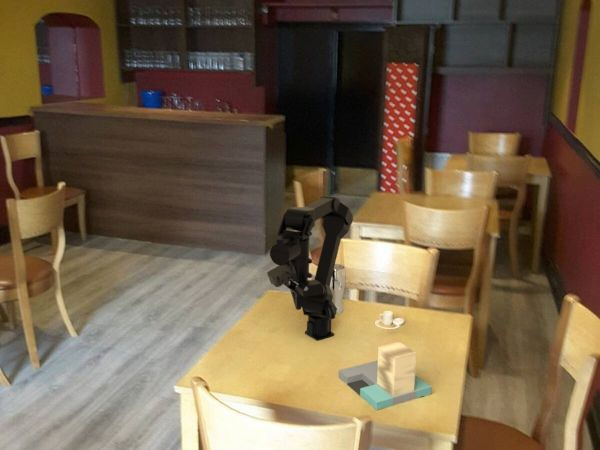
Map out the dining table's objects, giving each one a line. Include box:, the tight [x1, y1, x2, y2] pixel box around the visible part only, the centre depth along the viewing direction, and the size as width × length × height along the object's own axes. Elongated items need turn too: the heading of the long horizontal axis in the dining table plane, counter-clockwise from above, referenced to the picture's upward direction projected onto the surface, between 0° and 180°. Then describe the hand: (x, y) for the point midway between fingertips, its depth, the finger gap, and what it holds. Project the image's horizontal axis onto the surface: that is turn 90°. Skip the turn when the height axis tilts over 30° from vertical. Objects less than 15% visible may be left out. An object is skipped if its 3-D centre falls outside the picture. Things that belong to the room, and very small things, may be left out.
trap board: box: [338, 359, 417, 406], centre depth 157 cm, size 18×16×2 cm
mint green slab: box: [359, 374, 433, 411], centre depth 152 cm, size 7×16×2 cm, turn 117°
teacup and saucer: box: [374, 310, 405, 330], centre depth 193 cm, size 9×8×4 cm
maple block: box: [377, 340, 417, 397], centre depth 151 cm, size 7×6×10 cm
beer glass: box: [330, 263, 347, 315], centre depth 201 cm, size 7×7×15 cm
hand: (298, 309), depth 171 cm, fingers closed
